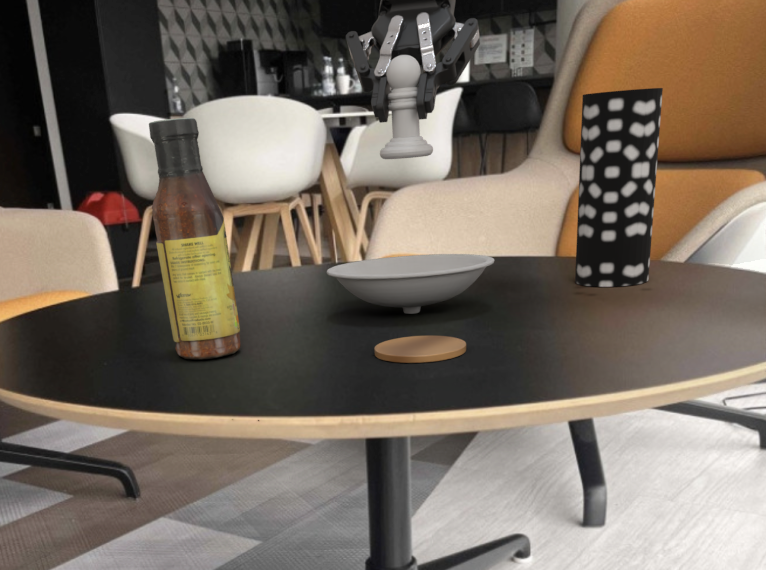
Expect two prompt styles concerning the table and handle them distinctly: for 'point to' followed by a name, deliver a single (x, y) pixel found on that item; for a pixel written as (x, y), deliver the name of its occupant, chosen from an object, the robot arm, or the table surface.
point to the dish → (411, 278)
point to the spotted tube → (617, 186)
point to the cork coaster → (420, 349)
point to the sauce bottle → (192, 247)
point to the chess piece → (404, 111)
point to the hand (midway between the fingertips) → (401, 113)
